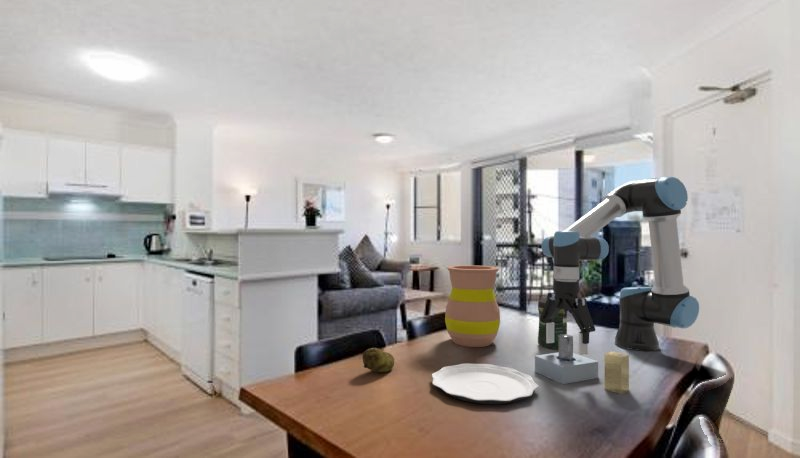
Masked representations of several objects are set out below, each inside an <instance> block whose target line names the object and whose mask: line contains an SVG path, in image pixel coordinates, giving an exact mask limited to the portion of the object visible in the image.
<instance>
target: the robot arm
mask: <svg viewBox="0 0 800 458" xmlns="http://www.w3.org/2000/svg"><path fill="white" fill-rule="evenodd" d="M688 199H689V198H688V191H687V187H686V186H685V184H684V183H683V182H682V181H681V180H680V179H679V178H677V177H675V176H661V177H655V178H654V177H653V178H652V177H651V178H646V179H635V180H631V181H628V182H625V183H624V184H622V185H620V186H618V187H617V188H615V189H613V190H611V191H610V192H608V193H607V194H606V195H605V196H604V197H603V198H602V200H601V202H600V203H599V204H597V205H596V206H594V207H593V208H591V210H590V211H588V212H586V213H585V214H584V215H583V216H581V217H580V218H578V219H577V220H576V221H575V222H573V223H571V225H569V226H568V227H566V228H565V229H564V230H557V231H555V232H554V234H553V235H552V236H551V235H550V236H547V237H545V238H544V239H543V240H542V241H541V250H542V251H541V252H542V253H543V255H544V256H545V257H548V258H553V278H554V281H553V286H552V287H553V292H547V297H546V298H547V301H546V304H545V306H544V309H543V311H542V314H541V316H540V318H541V319H543V320H544V321H545V331H546V343H554V323H553V322H554V321H553V320H554V318H555V317H556V316H557V314H558V313H559V312H560V310H563V309H564V310H566V311H567V312H569V314H571V316H572V317H573V319H574V321H575V322H576V325H577V326H578V328H579V330H580V331H579V332H578V355H581V356H584V355H588V354H589V353H588V351H589V350H588V349H589V348H588V347H589V346H588V345H590V333H592V332H596V327H595V324H594V322H593V321H594V320H593V318H592V316H591V314H590V311H589V307H588V305H587V304H588V303H587V302H588V301H587V298H585V297H584V298H582V297H581V298H579V297H578V294H579V293H580V282H579V281H578V280H580V262H582V261H595V262H596V261H601V260H604V259H606V257H607V256H608V254H609V251H610V249H609V248H610V246H609V244H608V241H606V239H605V238H603V237H599V236H598V237H597V236H594V235H595V234H596V233H597V232H599V231H601V230H602V229H603V228H604V227H605V226H607V225H608V224H609V223H610V222H612V221H614V220H615V219H616V218H621V217H623V216H624V215H626V214H628V213H632V212H642V218H643V219H645V220H647V222H648V230H649V237H650V239H649V241H650V248H651V257H652V266H653V275H654V276H653V277H654V284H655V285H654V286H653V287H652V286H635V287H633V286H632V287H623V288H621V290H620V294H619V326H618V329H617V331H616V334H615V336H614V345H616V346H618V347H620V348H624V349H627V350H633V351H640V352H642V351H643V352H652V351H653V352H654V351H658V350H659V349H660V341H659V340H658V336H657V333H656V331H655V324H658V325H663V326H667V327H671V328H679V329H689V328H690V327H691V326H693V325H694V324H695V322H696V320H697V319H698V316H699V312H700V303H699V301H698V300H697V298H696V297H694V296H692V295H690V289H689V288H688V287H687V286H686V285H685V284H684V277H683V266H682V260H681V259H682V258H681V249H680V239H679V230H678V222H677V220H678V217H680V215H681V214H682V209H684V208H685V207H686V206H687V204H688V203H687V202H688ZM555 300H556V302H555ZM554 303H555V304H554Z"/></svg>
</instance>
